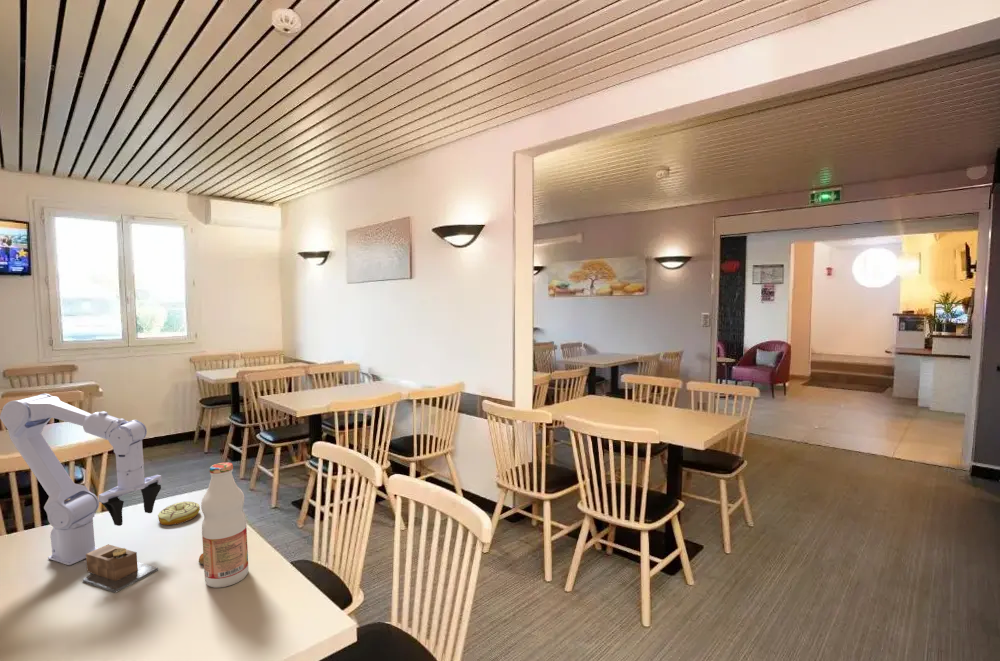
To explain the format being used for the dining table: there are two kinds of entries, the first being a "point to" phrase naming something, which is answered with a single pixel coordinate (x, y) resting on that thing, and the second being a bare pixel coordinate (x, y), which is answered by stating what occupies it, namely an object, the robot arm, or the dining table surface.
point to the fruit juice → (224, 529)
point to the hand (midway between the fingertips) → (133, 518)
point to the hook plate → (123, 582)
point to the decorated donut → (178, 513)
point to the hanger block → (111, 563)
